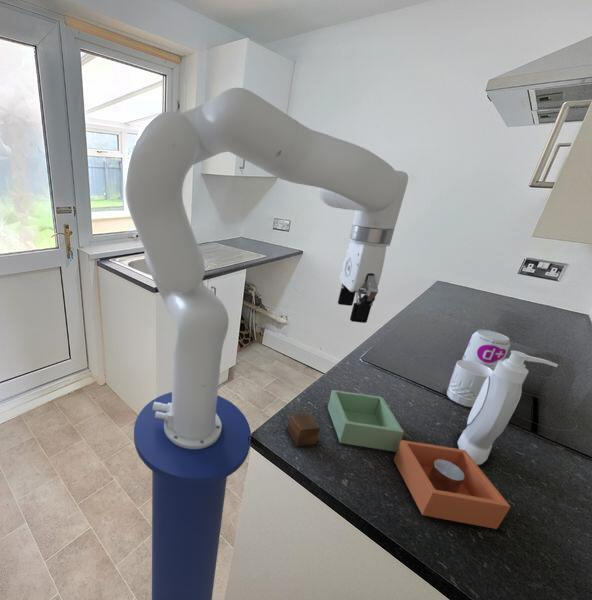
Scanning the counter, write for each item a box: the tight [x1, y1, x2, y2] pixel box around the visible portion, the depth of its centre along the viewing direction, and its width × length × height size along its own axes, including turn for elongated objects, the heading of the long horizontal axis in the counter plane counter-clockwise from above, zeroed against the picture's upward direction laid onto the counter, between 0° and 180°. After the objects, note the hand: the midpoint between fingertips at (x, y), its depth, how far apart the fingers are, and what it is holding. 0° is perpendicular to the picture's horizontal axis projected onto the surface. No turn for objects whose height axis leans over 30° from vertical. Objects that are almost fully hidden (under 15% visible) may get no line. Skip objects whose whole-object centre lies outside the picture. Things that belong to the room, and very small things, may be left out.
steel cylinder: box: [428, 459, 464, 493], centre depth 57 cm, size 4×4×5 cm
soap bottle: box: [457, 350, 559, 466], centre depth 63 cm, size 13×8×24 cm, turn 139°
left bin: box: [327, 389, 405, 453], centre depth 72 cm, size 12×12×6 cm
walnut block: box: [287, 412, 321, 447], centre depth 68 cm, size 4×4×4 cm
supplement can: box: [461, 329, 511, 371], centre depth 92 cm, size 8×8×15 cm
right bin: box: [393, 439, 511, 530], centre depth 57 cm, size 12×12×6 cm
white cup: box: [446, 359, 493, 408], centre depth 83 cm, size 8×8×10 cm
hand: (350, 312), depth 69 cm, fingers open, 9 cm apart
